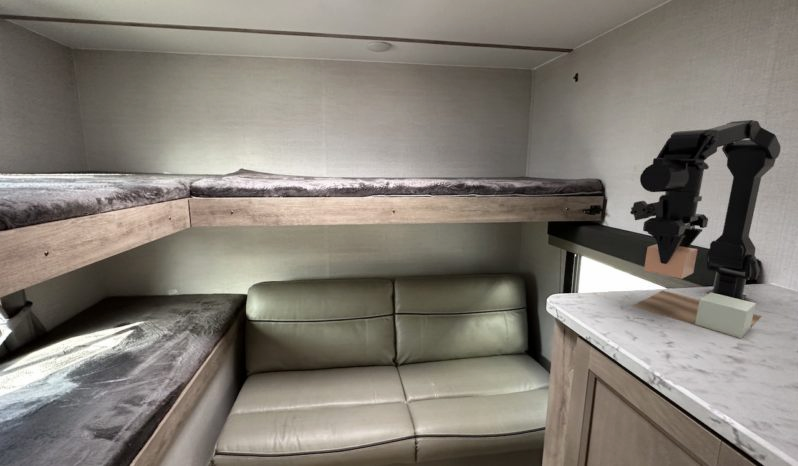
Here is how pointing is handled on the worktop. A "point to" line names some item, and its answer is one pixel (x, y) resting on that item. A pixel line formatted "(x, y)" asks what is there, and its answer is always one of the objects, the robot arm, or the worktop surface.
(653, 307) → the walnut board
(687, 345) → the worktop surface
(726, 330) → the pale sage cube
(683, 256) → the salmon foam cube
